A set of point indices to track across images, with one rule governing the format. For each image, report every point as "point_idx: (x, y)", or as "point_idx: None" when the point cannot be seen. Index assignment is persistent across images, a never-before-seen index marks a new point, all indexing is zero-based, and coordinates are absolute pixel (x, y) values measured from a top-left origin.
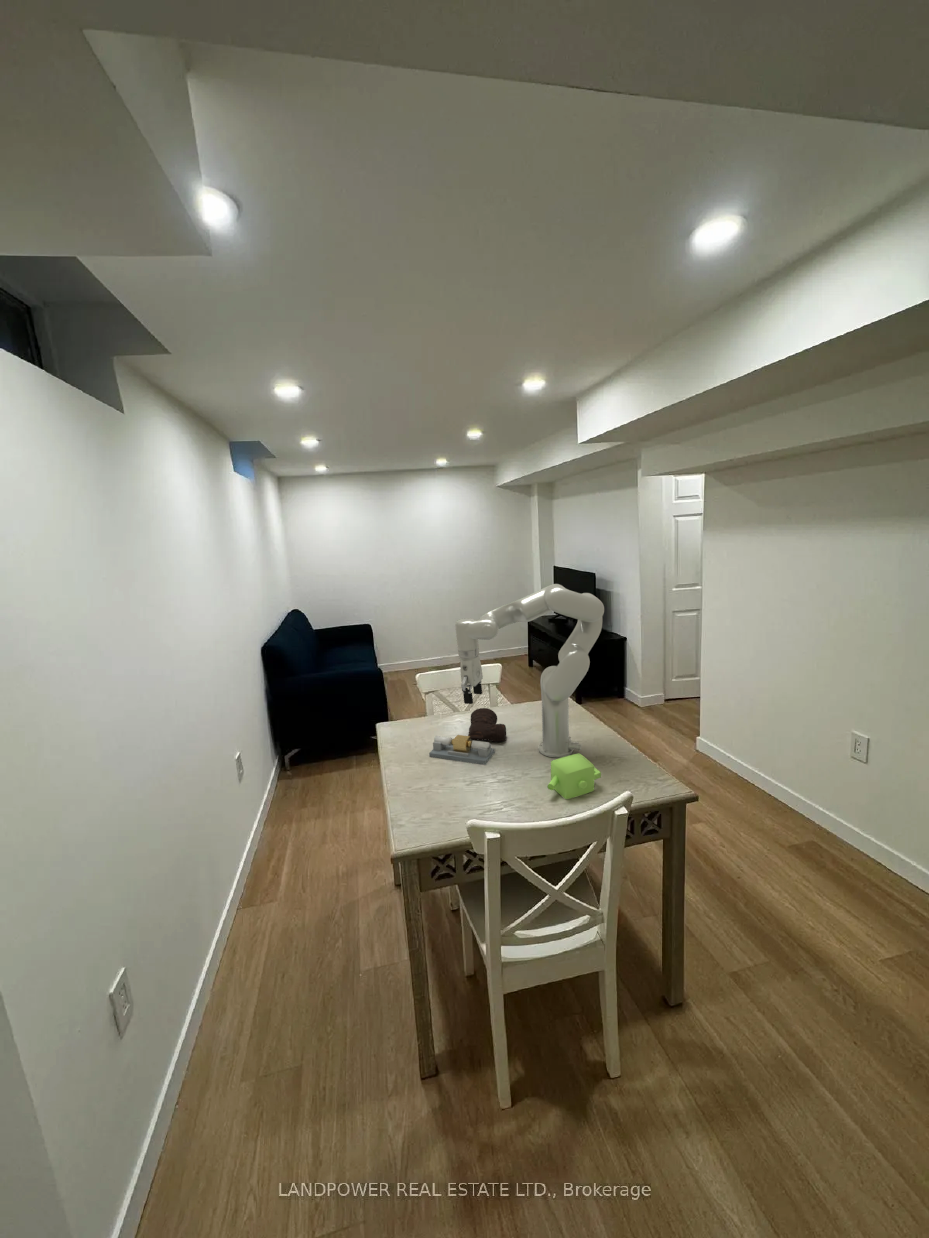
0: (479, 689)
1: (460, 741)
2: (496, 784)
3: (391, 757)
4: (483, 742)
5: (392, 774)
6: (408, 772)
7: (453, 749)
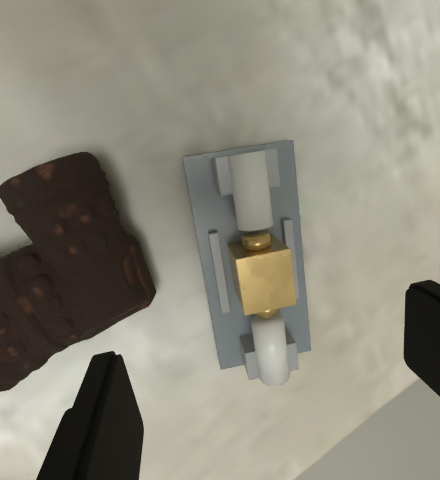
0: (115, 416)
1: (292, 270)
2: (398, 32)
3: (348, 427)
4: (255, 176)
5: None
6: None
7: None
